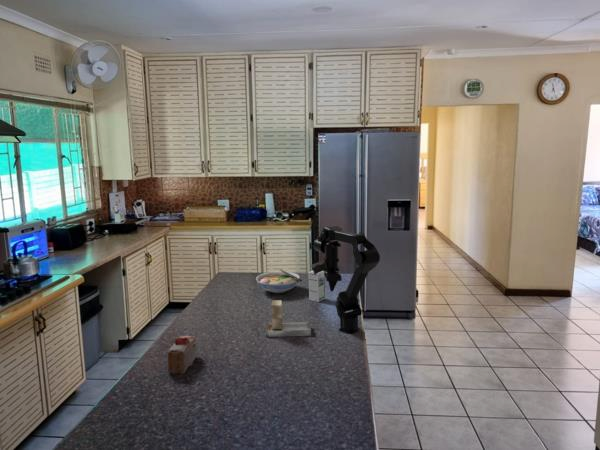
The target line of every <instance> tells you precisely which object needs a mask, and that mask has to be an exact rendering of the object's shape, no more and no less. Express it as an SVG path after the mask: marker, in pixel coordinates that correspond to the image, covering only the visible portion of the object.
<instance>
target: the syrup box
mask: <svg viewBox="0 0 600 450" xmlns="http://www.w3.org/2000/svg"><path fill="white" fill-rule="evenodd" d="M324 273H325V270H324V271H321V272H319V273H317V274H314V272H313V270H311V271H308V294H309V295H308V299H309V301H312V302H317V303H319V302H321V301H323V300H325V299H326V289H325V288H326V285H325V284H326V278H325V275H324Z"/></svg>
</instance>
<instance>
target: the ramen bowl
mask: <svg viewBox="0 0 600 450" xmlns="http://www.w3.org/2000/svg"><path fill="white" fill-rule="evenodd" d="M278 269H279V268H278ZM255 280H256V282H257V283H258V285H259V286H260V287H261V288H262V289H263V290H265V291H267V292H271V293H273V294H282V293H285V292H287V291H289V290H291V289H293V288H294V287H295V286H296V285H297V284H298V283H299V282H303V279H301V276H300V275H299V274H298V273H295V272H291V271H285V270H283V269H279V271H268V272H265V273H261V274H258V275H257V276H256V278H255Z"/></svg>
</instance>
